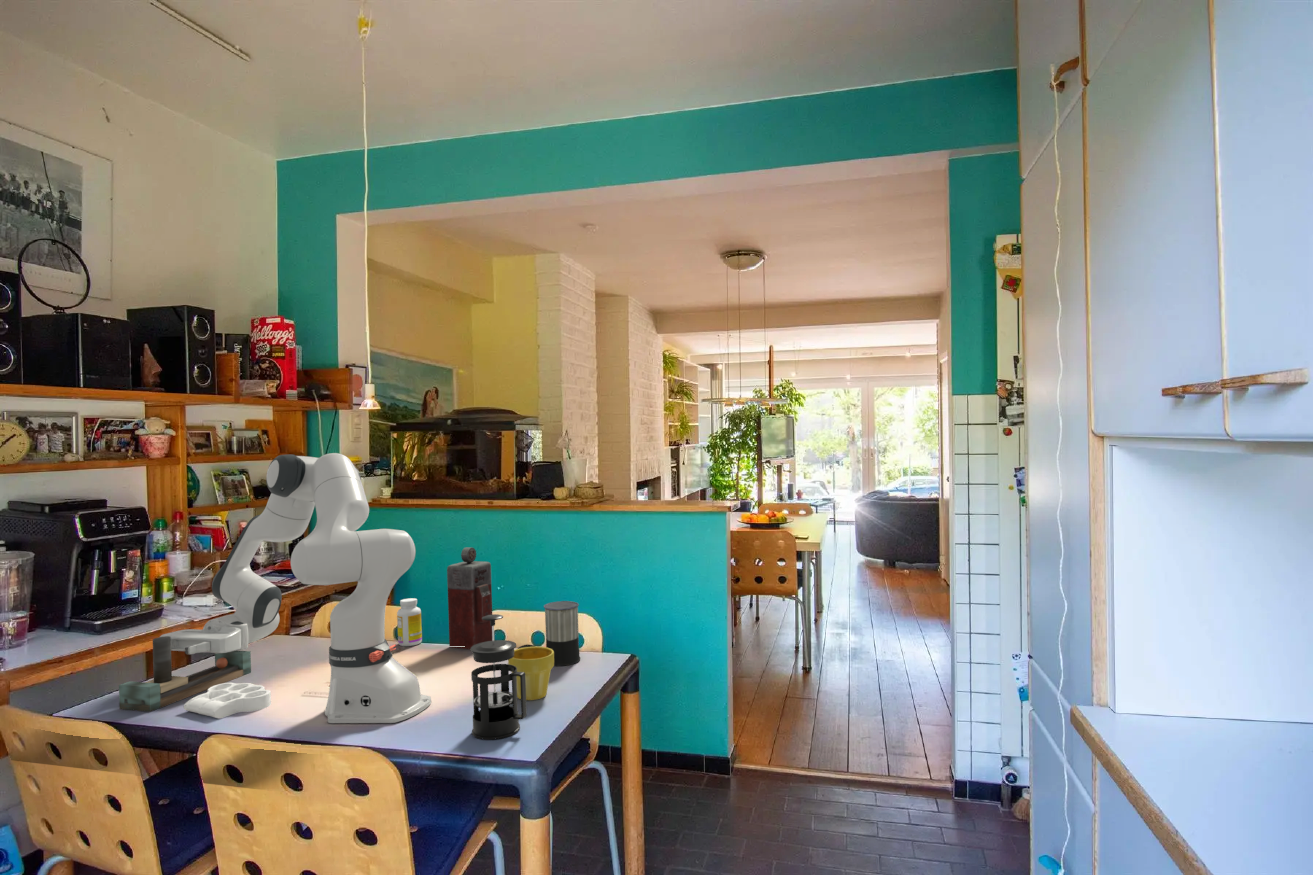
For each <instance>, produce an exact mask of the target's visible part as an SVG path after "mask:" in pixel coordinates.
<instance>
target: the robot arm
mask: <svg viewBox="0 0 1313 875" xmlns="http://www.w3.org/2000/svg"><path fill="white" fill-rule="evenodd" d="M360 473H361V472H360V471H359V469H358V468H357V467H356V466H355V465H354V464H353V461H351V459H350V458H349V457H348V456H346V455H344V454H342V453H338V452H332V453H325V454H323V455H321V456H320V457H314V456H306V455H305V456H304V455H295V454H280V455H278V456H276V457H275V458H273V459H272V460H271V462H270V463H269V465H268V469H267V472H266V478H265V479H266V487H267V488H268V490H269V491H270V496H269V498H268V500H267V503H266V506H265V507H264V510H263V511H262V512H261V514H258V515H257V514H256V515H255V516H253V517H252V518H251V519H250V520H249V521H248V522H247V523H246V525H245V526H244V528H243V530H242V531H241V533H240V535H239V536H238V538H237V540H236V542H235V544H234V545H233V547H232V549H231V551H230V553H229V555H228V557H227V558H226V560H225V561H224V564H223V565H222V566H221V567H220V568H219V570H218V571H217V572H216V573H215V575H214V577H213V579H212V582H211V590H212V595H213V596H214V597H215V598H216V599H219V600H221V601H222V602H224V603H226V604H229V605H231V607H234V608H235V612H234V613H232V614H226V615H223V616H219V617H216V618H213V619H210V620H208V621H207V622H206V623H205V624H204V625H203V629H202V628H201V629H198V628H197V629H196V628H195V629H193V628H190V629H189V628H187V629H181V630H177V631H172V632H168V633H163V634H161V635H160V636H159V637H165V636H169V637H171V652H172V651H173V652H174V651H176V652H177V651H178V652H184V654H186V655H194V654H199V653H209V654H210V653H212V654H214V655H215V654H219V653H227V652H231V651H235V650H236V651H245V650H247V649H248V648H249V645H250V644H252V643H254V642H257V641H259V640H262V639H263V638H266V637H268V636H269V635H271V634H272V633H273V632H274V631H276V629H277V628H278V626H279V623H280V614H279V612H280V609H281V604H282V598H283V596H282V594H283V593H282V591H281V589H280V588H279V587H278V586H277V585H275V584H274V583H273V582H271V581H269V580H268V579H265V578H263V577H262V576H260V575H259V574H257V573H255V572H254V571H253V570H252V569H251V568H252V567H251V564H250V563H251V562H252V560H253V558H254V556H255V554H256V553H257V551H258V550H259V547H260V545H261V544H262V543H263V542H269V543H270V542H272V543H285V542H290V541H294V540H296V539H298V538H300V537H301V536H302V535H303V534H304V533H305V532H306V531H307V528H308V526H309V524H310V521H311V518H312V516H313V513H314V510H315V512H316V523H315V527H314V529H312V531H311V532H310V533H309V534H308V535H307V536H306V537H303V539H301V540H300V541H298V542H297V544H296V545H295V547H294V548H293V551H292V552H291V556H290V568H291V572H292V573H293V575H294V577H295V578H296V579H297V581H299V582H300V583H301V584H303V585H310V586H311V585H312V586H329V585H330V586H331V585H338V584H344V583H345V584H346V583H352V582H353V583H354V582H357V584H356V588H355V589H354V591H353V592H352V593H351V594H349V595H348V596H347V597H345V598H344V599H342V600H341V601H339V602H338V603H337V604H336V605H335V606H334V607H333V609H332V611H331V612H330V616H329V620H330V622H329V623H330V625H329V626H330V628H329V629H330V646H329V648H328V663H329V665H330V680H329V681H330V682H329V688H328V689H329V691H328V698H327V702H326V706H325V710H324V715H325V716H326V717H327V723H328V724H394V723H398V722H402V721H405V720H407V719H409V718H411V717H414V716H416V715H418V714H419V713H421V712H423V711H424V710H425V709H427V708H428V707H429V706H430V705H431V703H432V696H430V695H426V694H421V688H420V684H419V679H418V677H417V676H416V675H415V674H414V673H413V672H411V671H410V670H409V669H408V668H407V667H405V666H404V665H403V664H402V663H401V662H398V661H397V659H395V658H394V657H393V653H392V652H393V651H395V650H396V649H397V648H396V645H397V644H392V645H390V646H389V643H388V640H387V639H386V638H385V633H386V632H385V627H386V626H385V623H386V619H385V618H386V606H387V602H388V598H389V596H390V593H391V591H392V589H393V588H394V586H395V584H396V583H397V581H398V580H399V579H400V578H401V577H402V576H403V575H404V574H405V573H406V572H407V571H408V570H409V569H410V568H411V567H412V565H413V563H414V561H415V558H416V545H415V543H414V542H415V541H414V540H413V537H411V535H410V534H409V533H408V532H407V531H405V530H400V529H393V528H379V529H377V528H376V529H367V530H359V529H360V528H361V527H362V526H363V525H364V524H365V522H366V521H367V519H368V517H369V515H370V514H369V513H370V506H369V502H368V500H367V499H368V498H367V496H366V492H365V489H364V486H363V483H362V476H361V474H360ZM357 530H358V531H357ZM394 647H395V648H394Z"/></svg>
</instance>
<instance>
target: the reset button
mask: <svg viewBox="0 0 1313 875" xmlns="http://www.w3.org/2000/svg"><path fill="white" fill-rule="evenodd" d="M227 664H228V661H227V659H226V658H224V657H223V658H220V659H218V660H217V662H216V665H217V667H218V668H219V669H222V668H225V667H226V666H227Z"/></svg>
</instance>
